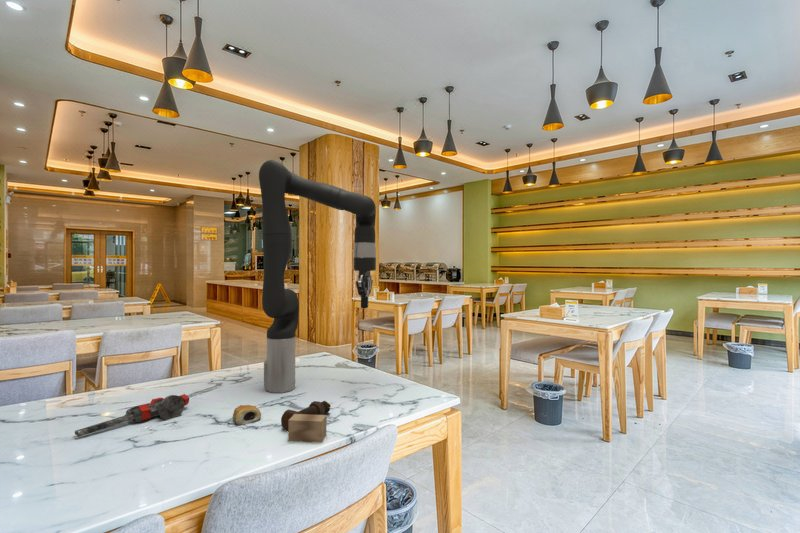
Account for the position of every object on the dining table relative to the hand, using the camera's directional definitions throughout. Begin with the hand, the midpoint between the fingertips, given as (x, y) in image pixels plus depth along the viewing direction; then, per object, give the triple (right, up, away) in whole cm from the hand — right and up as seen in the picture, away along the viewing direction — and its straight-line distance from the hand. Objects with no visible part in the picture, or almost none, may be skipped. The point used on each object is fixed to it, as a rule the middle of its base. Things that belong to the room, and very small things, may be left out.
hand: (364, 308), depth 133 cm
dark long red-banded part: (-59, -27, -28) cm, 70 cm away
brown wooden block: (-10, -27, -39) cm, 48 cm away
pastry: (-29, -27, -27) cm, 48 cm away
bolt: (-12, -28, -29) cm, 41 cm away
